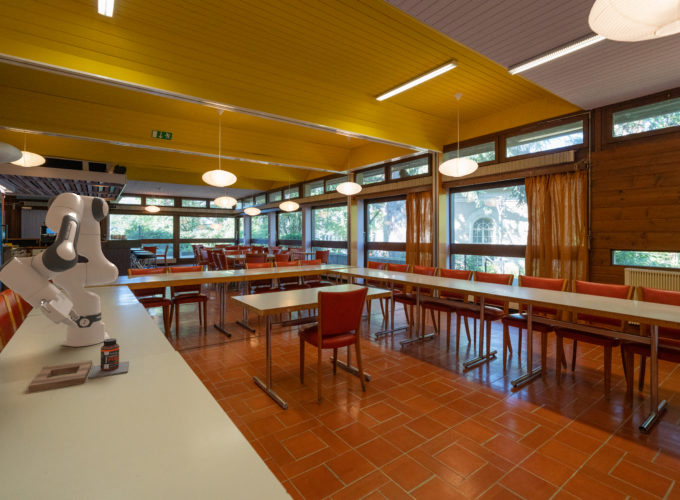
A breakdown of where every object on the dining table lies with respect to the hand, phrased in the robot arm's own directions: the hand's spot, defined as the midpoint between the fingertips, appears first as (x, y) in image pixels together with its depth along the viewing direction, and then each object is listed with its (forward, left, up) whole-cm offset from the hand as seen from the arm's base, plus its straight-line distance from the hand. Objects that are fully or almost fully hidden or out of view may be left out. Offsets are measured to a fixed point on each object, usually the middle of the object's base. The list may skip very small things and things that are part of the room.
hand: (76, 322), depth 124 cm
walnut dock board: (+3, -3, -19) cm, 20 cm away
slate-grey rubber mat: (+3, +11, -19) cm, 22 cm away
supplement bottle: (+3, +11, -19) cm, 22 cm away
